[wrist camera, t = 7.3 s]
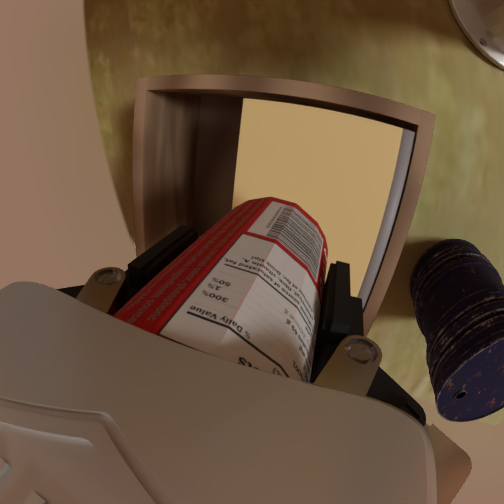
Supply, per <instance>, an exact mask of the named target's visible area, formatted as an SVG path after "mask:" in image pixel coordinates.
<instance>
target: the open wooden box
mask: <svg viewBox="0 0 504 504" xmlns="http://www.w3.org/2000/svg"><path fill="white" fill-rule="evenodd" d="M244 98H247V99H257V100H267V101H275V102H283V103H290V104H297V105H304V106H310V107H315V108H321V109H326V110H331V111H336V112H341V113H346V114H350V115H355V116H359V117H363V118H367V119H371V120H375V121H379V122H382V123H386V124H389V125H393V126H396V127H400V128H403V129H406V130H410V131H413V132H415V139H414V144H413V149H412V154H411V159H410V163H409V168H408V172H407V176H406V181H405V185H404V189H403V193H402V196H401V200H400V204H399V208H398V211H397V215H396V218H395V222H394V225H393V228H392V231H391V235H390V238H389V241H388V244H387V247H386V250H385V253H384V256H383V259H382V262H381V265H380V268H379V271H378V273H377V276H376V279H375V282H374V284H373V287H372V290H371V292H370V295H369V297H368V300H367V302H366V305H365V307H364V310H363V324H364V337H366V336H367V334H368V332H369V330H370V328H371V326H372V324H373V321H374V319H375V317H376V315H377V313H378V310H379V308H380V306H381V303H382V301H383V299H384V296H385V294H386V291H387V289H388V286H389V284H390V281H391V279H392V276H393V274H394V271H395V268H396V266H397V263H398V260H399V257H400V255H401V252H402V249H403V246H404V243H405V240H406V237H407V234H408V231H409V228H410V225H411V221H412V218H413V215H414V211H415V208H416V204H417V201H418V197H419V193H420V190H421V186H422V182H423V178H424V174H425V169H426V165H427V161H428V156H429V151H430V146H431V141H432V136H433V130H434V124H435V118H436V115H435V114H432V113H430V112H427V111H424V110H421V109H418V108H415V107H412V106H409V105H406V104H402V103H399V102H396V101H392V100H389V99H385V98H382V97H378V96H374V95H370V94H366V93H362V92H358V91H353V90H349V89H344V88H339V87H334V86H328V85H323V84H317V83H311V82H304V81H297V80H289V79H280V78H270V77H259V76H243V75H171V76H156V77H144V78H137V82H136V93H135V107H134V124H133V161H132V174H133V212H134V230H135V244H136V254H137V257H138V256H140V255H141V254H142V253H144V252H145V251H146V250H148V249H149V248H150V247H152V246H153V245H154V244H156V243H157V242H159V241H160V240H161V239H163V238H164V237H165V236H167V235H168V234H170V233H171V232H172V231H174V230H175V229H177V228H178V227H179V226H181V225H185V226H190V227H194V228H195V231H197V232H198V238H199V237H201V236H202V235H203V234H204V233H205V232H206V231H208V230H209V229H210V228H211V227H212V226H213V225H215V224H216V223H217V222H218V221H219V220H221V219H222V218H223V217H224V216H225V215H226V214H228V213H229V212H230V211H231V210H232V203H233V193H234V182H235V172H236V163H237V153H238V144H239V135H240V125H241V117H242V108H243V99H244Z"/></svg>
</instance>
